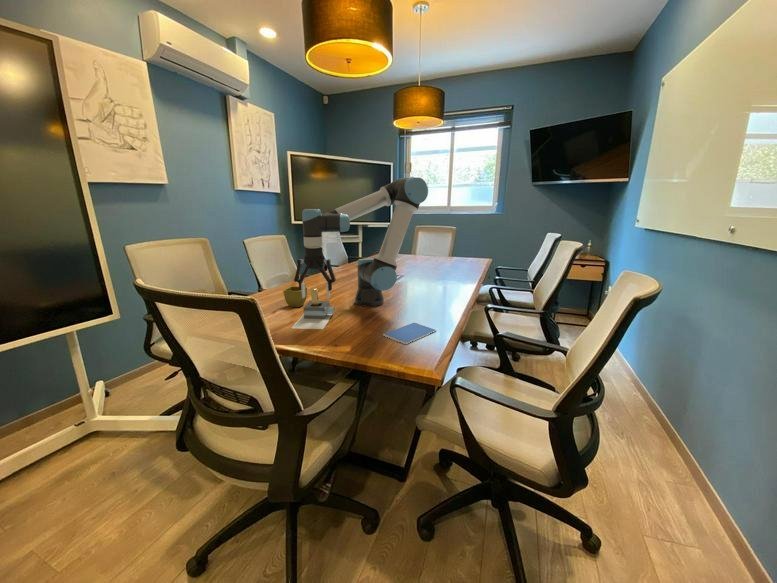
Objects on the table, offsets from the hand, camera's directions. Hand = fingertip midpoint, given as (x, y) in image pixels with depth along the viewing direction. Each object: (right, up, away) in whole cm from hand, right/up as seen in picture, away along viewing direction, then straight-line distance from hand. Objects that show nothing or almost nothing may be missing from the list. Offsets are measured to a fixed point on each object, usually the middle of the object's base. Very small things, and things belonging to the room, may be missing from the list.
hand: (316, 297), depth 141 cm
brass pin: (0, -8, +2) cm, 8 cm away
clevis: (+1, -8, +3) cm, 8 cm away
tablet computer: (+41, -15, -13) cm, 45 cm away
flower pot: (-14, -5, +21) cm, 26 cm away
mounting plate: (0, -11, -2) cm, 11 cm away
